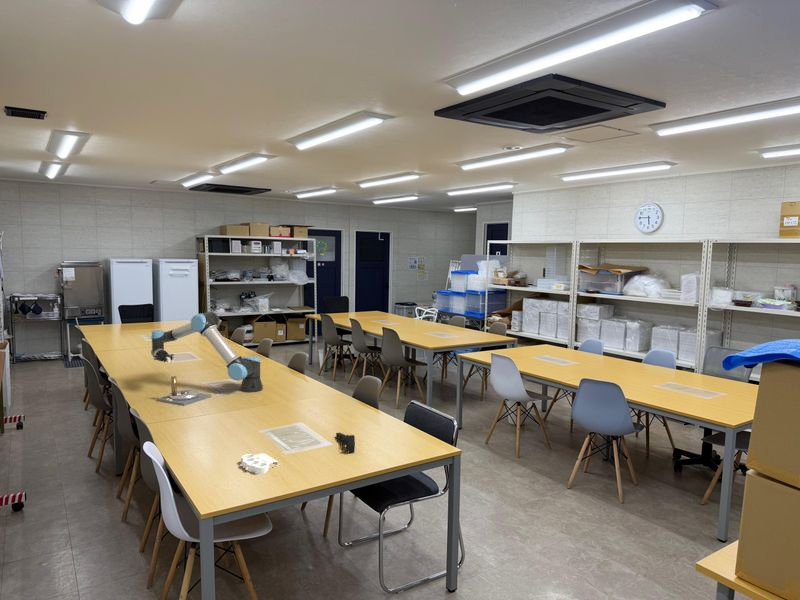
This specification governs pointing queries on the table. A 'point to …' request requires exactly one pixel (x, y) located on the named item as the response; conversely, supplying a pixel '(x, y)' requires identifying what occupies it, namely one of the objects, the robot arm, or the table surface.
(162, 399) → the stand plate
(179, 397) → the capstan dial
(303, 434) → the table surface
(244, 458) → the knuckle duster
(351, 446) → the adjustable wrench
